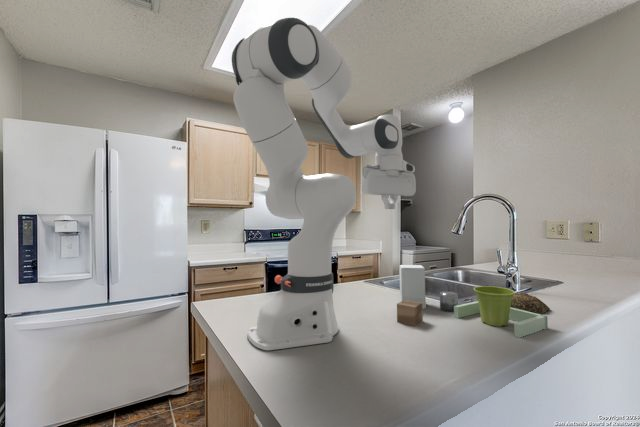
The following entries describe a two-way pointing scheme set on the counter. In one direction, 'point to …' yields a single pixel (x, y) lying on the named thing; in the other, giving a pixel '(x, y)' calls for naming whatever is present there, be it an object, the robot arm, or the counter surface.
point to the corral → (522, 327)
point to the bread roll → (528, 303)
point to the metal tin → (448, 301)
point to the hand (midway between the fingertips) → (389, 209)
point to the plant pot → (494, 304)
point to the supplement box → (412, 283)
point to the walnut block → (409, 312)
